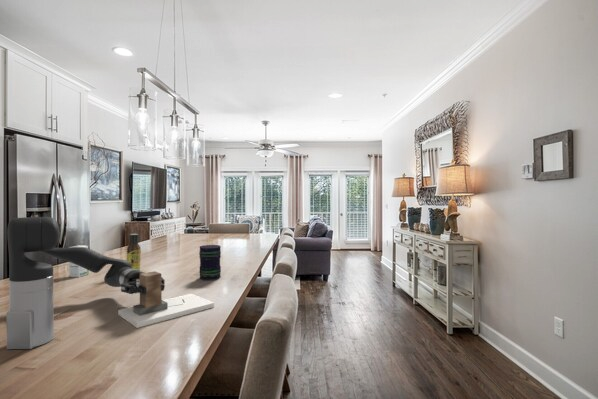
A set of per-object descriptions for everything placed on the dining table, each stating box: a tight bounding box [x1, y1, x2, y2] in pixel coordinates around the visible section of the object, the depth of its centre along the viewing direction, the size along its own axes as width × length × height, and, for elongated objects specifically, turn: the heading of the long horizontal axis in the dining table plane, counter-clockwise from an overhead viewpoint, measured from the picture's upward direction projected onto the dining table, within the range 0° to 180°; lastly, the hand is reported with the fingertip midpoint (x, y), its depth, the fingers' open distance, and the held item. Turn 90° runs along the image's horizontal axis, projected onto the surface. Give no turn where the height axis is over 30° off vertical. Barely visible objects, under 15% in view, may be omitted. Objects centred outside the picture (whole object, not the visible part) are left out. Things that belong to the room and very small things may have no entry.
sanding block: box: [132, 270, 168, 316], centre depth 110 cm, size 9×5×12 cm, turn 136°
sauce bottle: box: [126, 233, 141, 271], centre depth 168 cm, size 6×6×20 cm
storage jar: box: [198, 244, 222, 281], centre depth 160 cm, size 10×10×15 cm
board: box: [117, 293, 215, 329], centre depth 114 cm, size 26×16×2 cm, turn 136°
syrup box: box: [68, 244, 90, 278], centre depth 164 cm, size 6×6×14 cm
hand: (154, 289), depth 108 cm, fingers closed on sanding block, 5 cm apart
